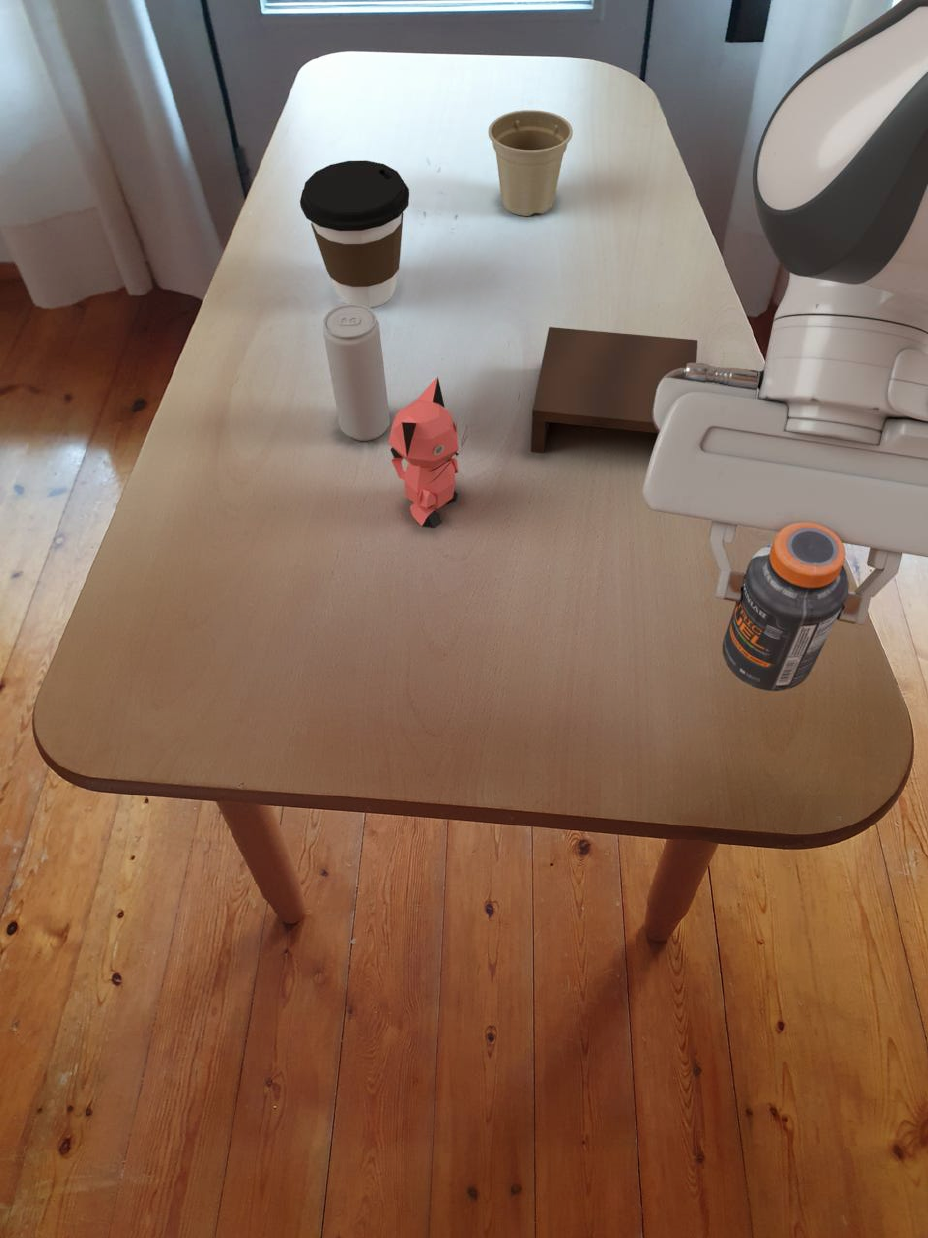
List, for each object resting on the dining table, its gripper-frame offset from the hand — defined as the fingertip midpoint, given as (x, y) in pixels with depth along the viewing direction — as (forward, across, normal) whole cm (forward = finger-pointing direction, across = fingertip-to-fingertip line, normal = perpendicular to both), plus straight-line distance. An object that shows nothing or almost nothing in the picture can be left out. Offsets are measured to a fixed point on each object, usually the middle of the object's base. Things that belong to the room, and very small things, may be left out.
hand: (788, 611), depth 58 cm
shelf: (-12, -15, +32) cm, 38 cm away
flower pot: (-37, -31, +57) cm, 74 cm away
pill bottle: (+4, 0, +5) cm, 6 cm away
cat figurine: (-1, -29, +22) cm, 36 cm away
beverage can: (-7, -38, +27) cm, 47 cm away
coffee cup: (-22, -44, +42) cm, 65 cm away
